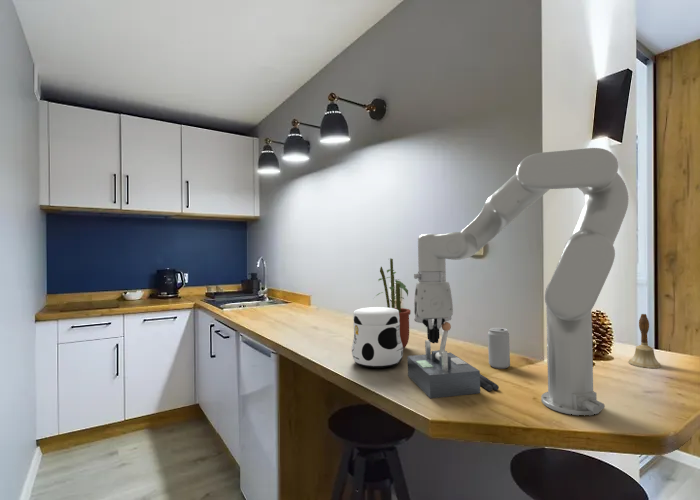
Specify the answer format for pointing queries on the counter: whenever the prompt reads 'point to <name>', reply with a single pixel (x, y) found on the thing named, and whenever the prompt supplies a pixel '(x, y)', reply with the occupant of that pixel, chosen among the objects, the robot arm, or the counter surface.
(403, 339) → the potted plant
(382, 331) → the milk container
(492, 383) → the cord bundle
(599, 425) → the counter surface
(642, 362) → the hand bell
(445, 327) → the lever
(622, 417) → the counter surface
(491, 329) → the beverage can
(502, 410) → the counter surface
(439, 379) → the breaker panel
